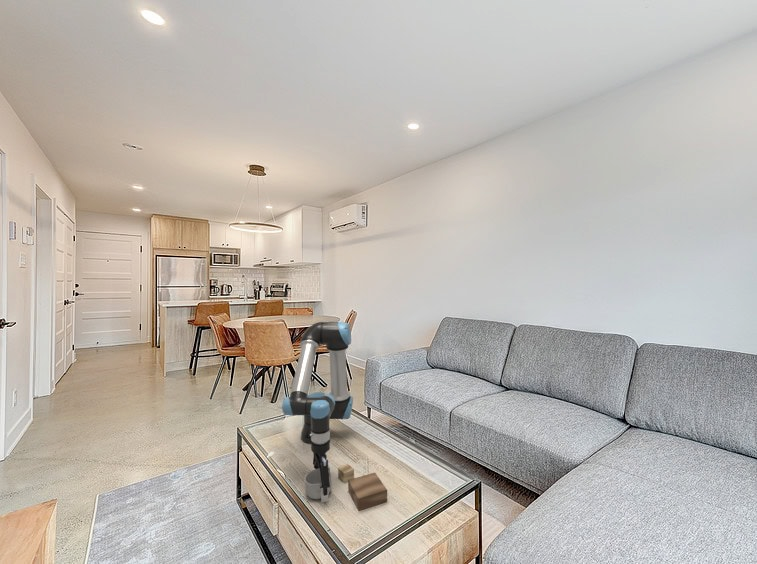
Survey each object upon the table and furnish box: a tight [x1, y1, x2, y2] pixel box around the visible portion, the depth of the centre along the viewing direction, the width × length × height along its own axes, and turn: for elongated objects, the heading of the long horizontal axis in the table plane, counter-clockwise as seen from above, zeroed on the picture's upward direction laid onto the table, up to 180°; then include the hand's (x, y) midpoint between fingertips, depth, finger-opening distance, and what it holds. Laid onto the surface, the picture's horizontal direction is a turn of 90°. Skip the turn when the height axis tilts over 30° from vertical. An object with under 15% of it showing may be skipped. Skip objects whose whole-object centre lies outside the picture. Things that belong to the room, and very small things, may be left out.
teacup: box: [303, 465, 332, 500], centre depth 136 cm, size 14×11×8 cm
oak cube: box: [337, 463, 355, 484], centre depth 144 cm, size 5×5×5 cm
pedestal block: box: [347, 472, 388, 513], centre depth 132 cm, size 12×12×5 cm
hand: (321, 492), depth 135 cm, fingers closed on teacup, 11 cm apart
